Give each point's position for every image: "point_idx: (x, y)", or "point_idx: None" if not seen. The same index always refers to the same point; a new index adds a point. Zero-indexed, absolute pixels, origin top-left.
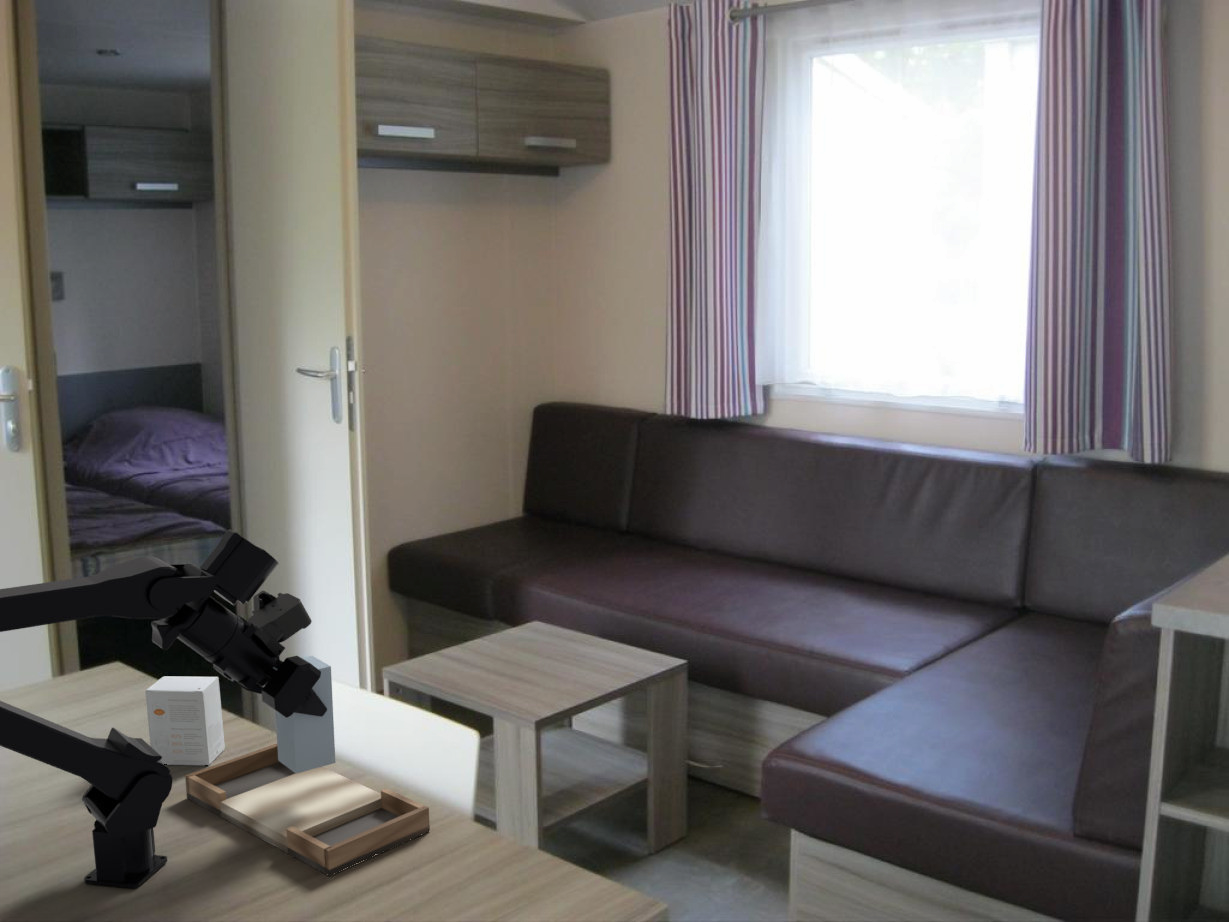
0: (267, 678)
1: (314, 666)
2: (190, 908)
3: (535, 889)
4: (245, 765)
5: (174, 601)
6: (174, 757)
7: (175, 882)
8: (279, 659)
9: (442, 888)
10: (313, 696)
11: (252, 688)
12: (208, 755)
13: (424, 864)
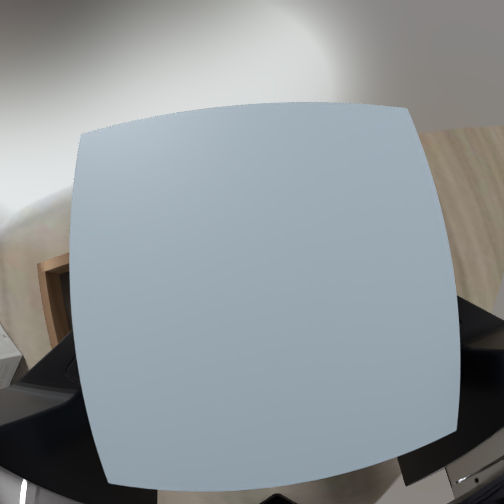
0: None
1: (365, 198)
2: (396, 474)
3: (498, 168)
4: (64, 337)
5: None
6: (3, 386)
7: (333, 488)
8: (45, 413)
9: (485, 231)
10: None
11: (152, 501)
12: (14, 356)
13: (447, 223)
